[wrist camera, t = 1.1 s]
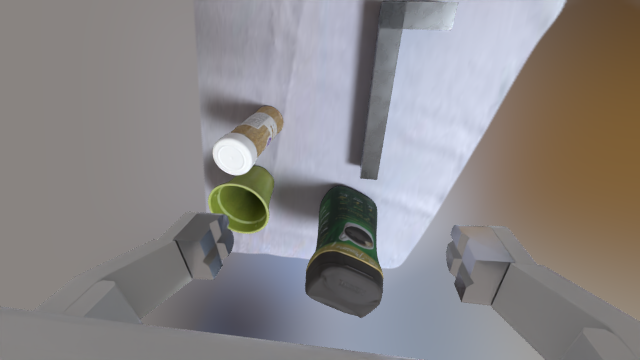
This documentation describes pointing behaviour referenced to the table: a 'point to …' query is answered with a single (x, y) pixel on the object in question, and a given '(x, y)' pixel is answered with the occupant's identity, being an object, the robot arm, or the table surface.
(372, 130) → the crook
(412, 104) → the table surface
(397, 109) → the table surface
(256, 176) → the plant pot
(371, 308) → the coffee jar
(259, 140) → the sprinkles bottle
